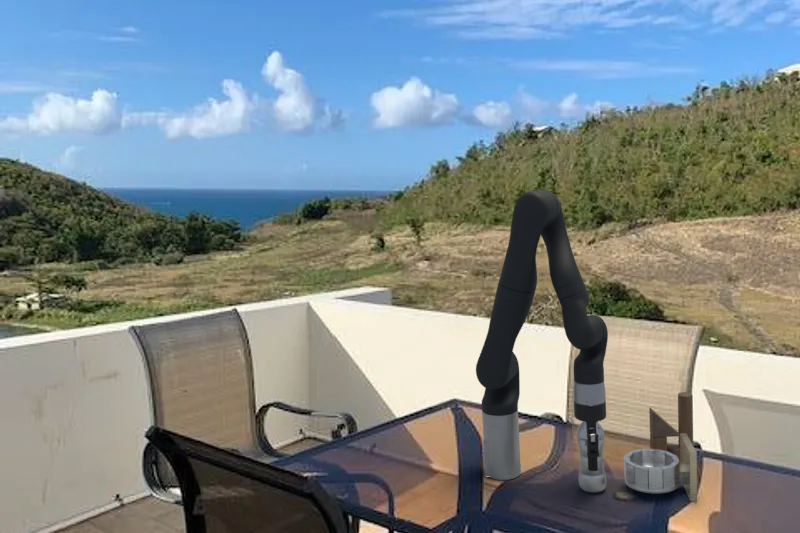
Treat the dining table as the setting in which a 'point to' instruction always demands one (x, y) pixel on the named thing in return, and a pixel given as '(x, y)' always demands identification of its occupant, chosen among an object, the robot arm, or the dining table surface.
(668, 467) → the ring
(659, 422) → the wooden wedge with rod
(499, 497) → the dining table surface
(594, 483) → the plastic bottle
